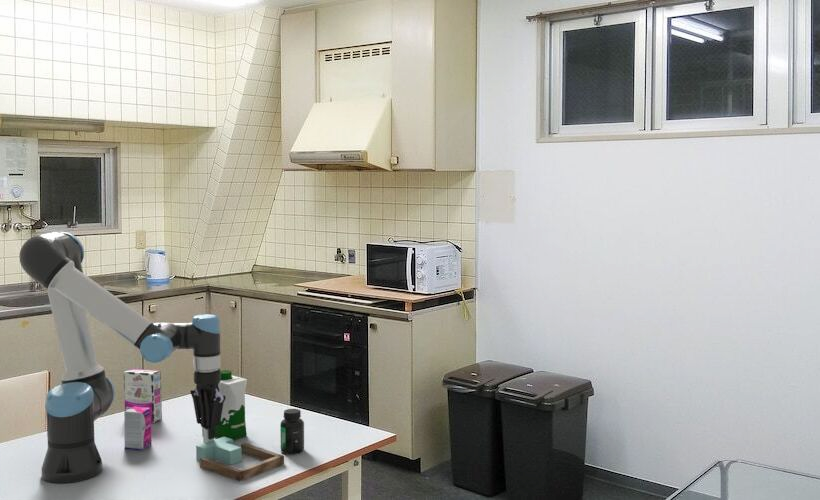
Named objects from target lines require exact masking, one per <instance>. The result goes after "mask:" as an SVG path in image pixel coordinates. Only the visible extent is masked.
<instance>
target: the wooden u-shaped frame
mask: <svg viewBox="0 0 820 500" xmlns="http://www.w3.org/2000/svg"><path fill="white" fill-rule="evenodd" d="M240 447H241V454H244V455H246V456H249V457H253V458H255V459H258V460H262V461H259V462H256V463H253V464H251V465H248V466H246V467H244V468H241V469H240V468H237V467H236V466H232V465H228V464H226V463H223V462H220V461H217V460H212V459H209V458H206V457H203V458H200V461H199V468H201V469H204V470H207V471H209V472H212V473H214V474H217V475H220V476H224V477H227V478H229V479H232V480H234V481H237V482H242V481H246V480H247V479H250V478H253V477H256V476H258V475H261V474H263V473H265V472H268V471H270V470H273V469H276V468H279V467H281V466H285V454H280V453H277V452H274V451H271V450H267V449H264V448H261V447H259V446H255V445H251V444H249V443H246V442H245V443H241V444H240Z"/></svg>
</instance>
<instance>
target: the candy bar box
mask: <svg viewBox="0 0 820 500" xmlns="http://www.w3.org/2000/svg"><path fill="white" fill-rule="evenodd" d="M161 374H162V371H161V370H154V369H153V370H152V369H139V368H131V369H127V370H125V371H123V388H124V389H123V392H124V412H125V411H126V410H128V409H130V408H132V407H134V406H137V407H148V408H151V424H155V423H158V422H159V421H162V420H163V409H162V376H161Z"/></svg>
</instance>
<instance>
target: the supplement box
mask: <svg viewBox="0 0 820 500" xmlns="http://www.w3.org/2000/svg"><path fill="white" fill-rule="evenodd" d="M123 416H124V420H123V421H124V422H123V423H124V447H123V448H124V450H128V451H144V449H146V448H147V447H149V446H151V445H152V423H151V408H148V407H137V406H134V407H132V408H130V409H128V410H126V411H125V410H124V415H123Z"/></svg>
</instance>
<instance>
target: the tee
mask: <svg viewBox="0 0 820 500" xmlns="http://www.w3.org/2000/svg"><path fill="white" fill-rule="evenodd" d="M195 450H196V451H195V452H196V454H195V455H196V456H195V457H196V458H195V459H196V460H197V461H199V462H200V458H203V457H206V458H209V459H212V460H214V461H217V462H220V463H223V464H226V465H229V466H232V465H234V464H238V463H240V462H242V460H243V459H242V453H241V446H238V445H235V444H234V440H233V439H230V438H227V437H221V438H216V439H215V438H214V440H212V441H209V442H206V443H200V444H198V445H196V446H195Z"/></svg>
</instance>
